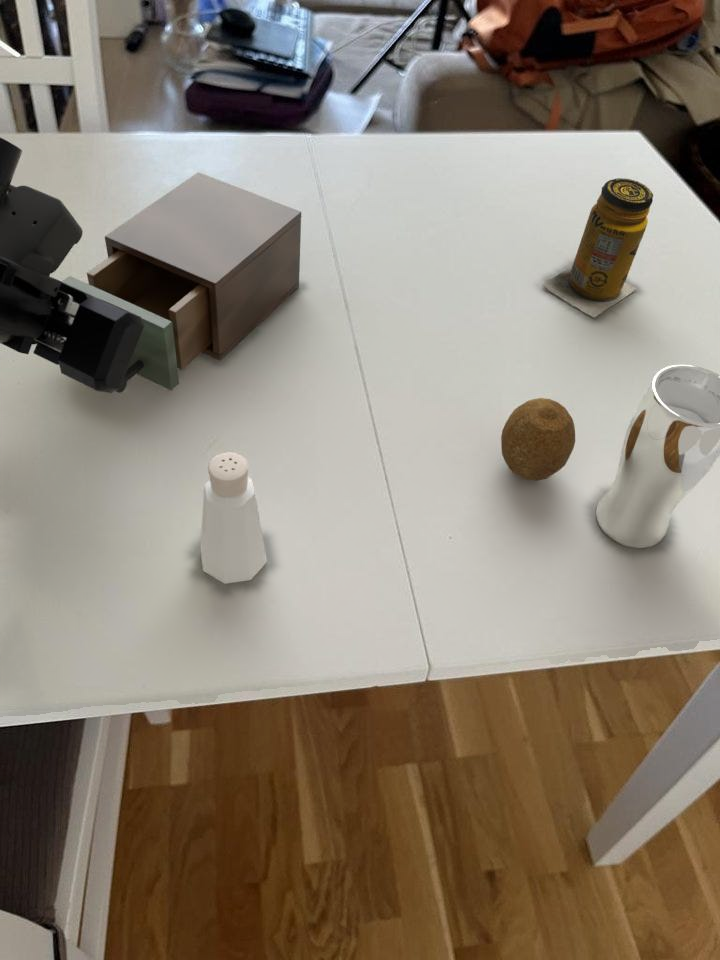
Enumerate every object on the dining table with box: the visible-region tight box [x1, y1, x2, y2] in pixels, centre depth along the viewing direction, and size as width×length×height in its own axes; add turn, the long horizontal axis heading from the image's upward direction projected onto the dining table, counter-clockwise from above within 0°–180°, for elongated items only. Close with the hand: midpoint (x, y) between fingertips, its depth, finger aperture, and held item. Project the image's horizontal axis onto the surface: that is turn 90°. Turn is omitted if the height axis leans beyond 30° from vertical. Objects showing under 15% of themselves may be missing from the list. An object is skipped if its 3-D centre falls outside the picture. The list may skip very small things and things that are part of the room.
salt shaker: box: [199, 451, 268, 584], centre depth 62 cm, size 5×5×11 cm
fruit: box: [500, 397, 576, 481], centre depth 72 cm, size 6×6×8 cm
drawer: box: [61, 250, 213, 394], centre depth 78 cm, size 18×11×7 cm, turn 151°
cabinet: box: [104, 171, 302, 362], centre depth 84 cm, size 15×13×9 cm
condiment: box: [541, 177, 654, 319], centre depth 89 cm, size 7×8×12 cm
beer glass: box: [595, 364, 720, 549], centre depth 66 cm, size 7×7×15 cm
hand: (92, 330), depth 72 cm, fingers closed
